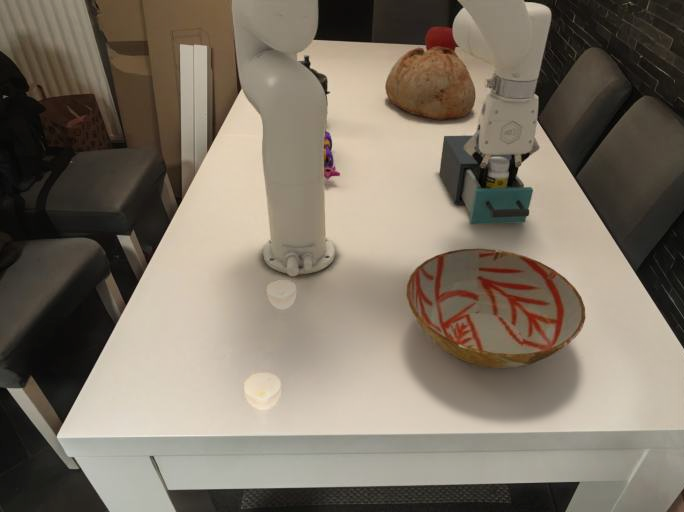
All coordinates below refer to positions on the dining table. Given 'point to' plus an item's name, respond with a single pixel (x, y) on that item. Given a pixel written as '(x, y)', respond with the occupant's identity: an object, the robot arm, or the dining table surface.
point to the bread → (431, 84)
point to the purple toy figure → (328, 157)
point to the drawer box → (457, 164)
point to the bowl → (494, 307)
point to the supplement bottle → (497, 172)
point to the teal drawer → (495, 200)
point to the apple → (440, 38)
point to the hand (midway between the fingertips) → (494, 183)
